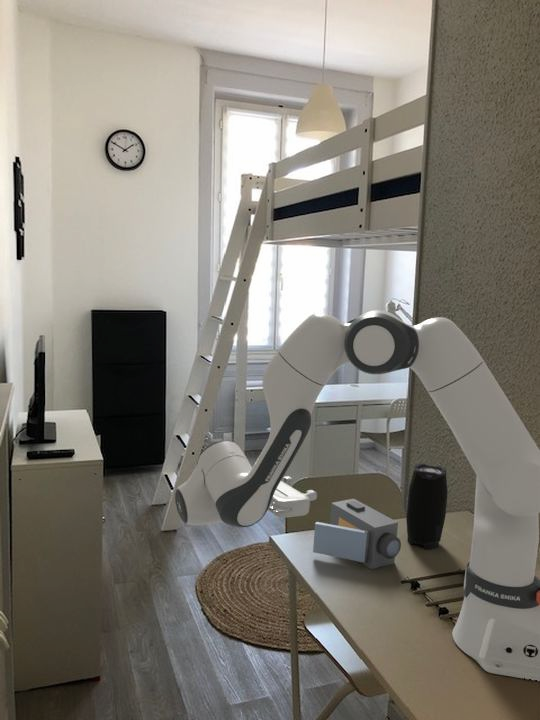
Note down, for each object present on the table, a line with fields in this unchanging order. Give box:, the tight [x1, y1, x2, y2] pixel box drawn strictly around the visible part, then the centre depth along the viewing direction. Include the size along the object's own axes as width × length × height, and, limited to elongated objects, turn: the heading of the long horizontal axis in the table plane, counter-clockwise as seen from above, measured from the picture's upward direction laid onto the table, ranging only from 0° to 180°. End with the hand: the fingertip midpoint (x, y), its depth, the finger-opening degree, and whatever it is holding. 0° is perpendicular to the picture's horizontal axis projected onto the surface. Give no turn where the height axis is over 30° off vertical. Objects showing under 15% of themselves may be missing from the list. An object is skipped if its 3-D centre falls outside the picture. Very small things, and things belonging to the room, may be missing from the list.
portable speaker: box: [405, 463, 449, 550], centre depth 153 cm, size 9×9×20 cm
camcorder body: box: [329, 498, 402, 570], centre depth 145 cm, size 19×7×11 cm, turn 32°
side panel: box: [312, 521, 370, 563], centre depth 140 cm, size 13×1×7 cm, turn 72°
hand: (302, 487), depth 136 cm, fingers open, 8 cm apart
